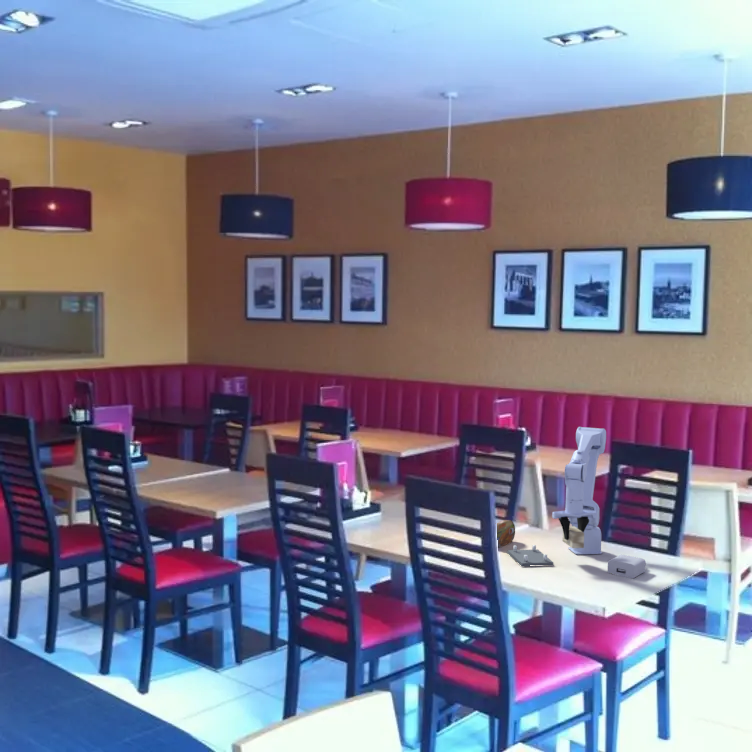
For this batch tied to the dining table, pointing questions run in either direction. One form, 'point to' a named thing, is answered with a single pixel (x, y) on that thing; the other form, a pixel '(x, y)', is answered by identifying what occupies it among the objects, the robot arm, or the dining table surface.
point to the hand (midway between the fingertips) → (573, 539)
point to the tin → (505, 532)
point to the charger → (626, 566)
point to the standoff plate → (529, 557)
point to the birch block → (575, 538)
